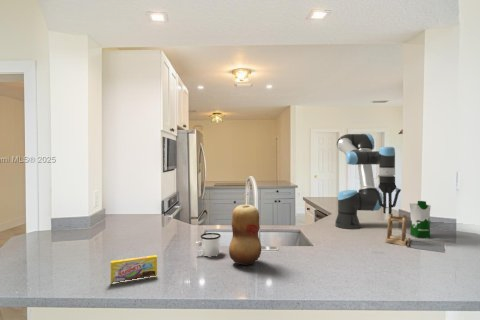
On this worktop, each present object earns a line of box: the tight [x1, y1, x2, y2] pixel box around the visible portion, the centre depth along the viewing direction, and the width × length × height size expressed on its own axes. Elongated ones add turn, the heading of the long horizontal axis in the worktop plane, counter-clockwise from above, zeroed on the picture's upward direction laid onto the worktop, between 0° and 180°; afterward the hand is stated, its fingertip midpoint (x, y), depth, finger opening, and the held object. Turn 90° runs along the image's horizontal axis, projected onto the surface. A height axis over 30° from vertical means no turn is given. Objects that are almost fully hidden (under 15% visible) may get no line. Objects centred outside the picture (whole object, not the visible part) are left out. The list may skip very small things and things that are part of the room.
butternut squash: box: [228, 204, 262, 266], centre depth 120 cm, size 14×13×25 cm
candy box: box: [110, 254, 158, 284], centre depth 105 cm, size 16×2×8 cm, turn 114°
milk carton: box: [409, 200, 431, 239], centre depth 160 cm, size 9×9×20 cm
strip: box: [406, 237, 411, 248], centre depth 146 cm, size 1×14×1 cm, turn 146°
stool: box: [385, 213, 408, 246], centre depth 149 cm, size 9×9×14 cm
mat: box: [409, 239, 446, 254], centre depth 142 cm, size 14×14×1 cm
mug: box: [194, 232, 221, 257], centre depth 132 cm, size 12×10×9 cm
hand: (387, 219), depth 151 cm, fingers closed
